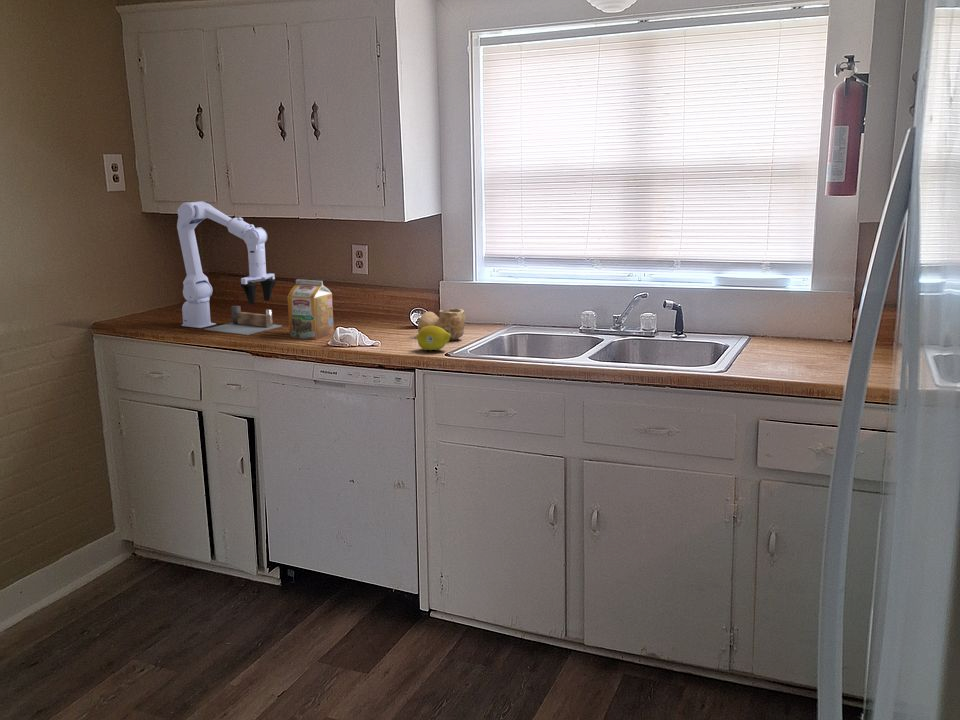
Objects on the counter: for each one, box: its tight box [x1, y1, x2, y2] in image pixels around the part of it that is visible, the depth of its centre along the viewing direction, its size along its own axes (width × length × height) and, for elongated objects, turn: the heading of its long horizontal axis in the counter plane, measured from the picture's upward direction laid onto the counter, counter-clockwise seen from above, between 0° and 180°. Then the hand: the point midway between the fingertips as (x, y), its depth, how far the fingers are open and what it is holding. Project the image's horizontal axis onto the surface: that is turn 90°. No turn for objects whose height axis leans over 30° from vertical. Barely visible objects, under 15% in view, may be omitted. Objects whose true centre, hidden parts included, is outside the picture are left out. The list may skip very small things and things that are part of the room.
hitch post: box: [265, 309, 274, 326], centre depth 312 cm, size 2×2×6 cm
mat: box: [203, 322, 283, 336], centre depth 310 cm, size 20×18×1 cm
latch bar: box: [230, 305, 270, 327], centre depth 313 cm, size 17×3×6 cm, turn 61°
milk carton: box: [286, 278, 335, 341], centre depth 295 cm, size 11×11×19 cm
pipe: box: [417, 307, 466, 341], centre depth 290 cm, size 9×16×10 cm, turn 55°
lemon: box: [416, 326, 451, 351], centre depth 272 cm, size 11×8×8 cm
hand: (259, 302), depth 305 cm, fingers open, 7 cm apart
